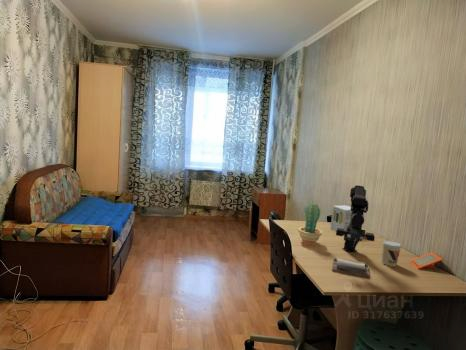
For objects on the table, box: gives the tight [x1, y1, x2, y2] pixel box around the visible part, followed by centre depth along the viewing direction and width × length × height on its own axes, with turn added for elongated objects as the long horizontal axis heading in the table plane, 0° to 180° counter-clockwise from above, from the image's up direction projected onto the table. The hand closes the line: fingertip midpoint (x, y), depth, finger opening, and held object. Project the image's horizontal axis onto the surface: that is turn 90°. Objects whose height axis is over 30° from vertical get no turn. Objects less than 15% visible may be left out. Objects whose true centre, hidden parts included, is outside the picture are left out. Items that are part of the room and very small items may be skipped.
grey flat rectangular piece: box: [336, 257, 366, 274], centre depth 192 cm, size 12×14×2 cm
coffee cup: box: [381, 240, 402, 267], centre depth 205 cm, size 9×9×12 cm
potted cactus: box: [297, 202, 323, 246], centre depth 231 cm, size 15×15×25 cm
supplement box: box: [330, 204, 352, 232], centre depth 266 cm, size 13×13×18 cm
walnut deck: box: [331, 257, 370, 279], centre depth 192 cm, size 14×18×2 cm
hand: (352, 250), depth 190 cm, fingers closed
